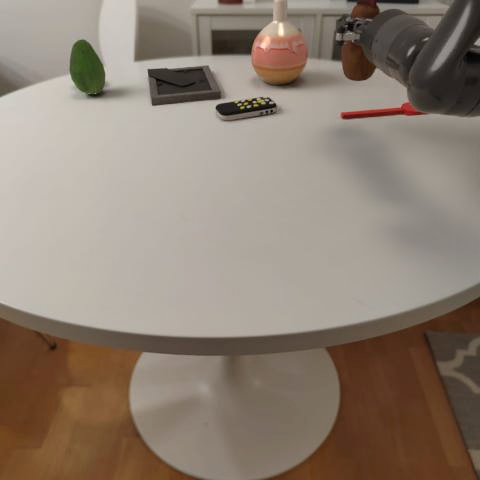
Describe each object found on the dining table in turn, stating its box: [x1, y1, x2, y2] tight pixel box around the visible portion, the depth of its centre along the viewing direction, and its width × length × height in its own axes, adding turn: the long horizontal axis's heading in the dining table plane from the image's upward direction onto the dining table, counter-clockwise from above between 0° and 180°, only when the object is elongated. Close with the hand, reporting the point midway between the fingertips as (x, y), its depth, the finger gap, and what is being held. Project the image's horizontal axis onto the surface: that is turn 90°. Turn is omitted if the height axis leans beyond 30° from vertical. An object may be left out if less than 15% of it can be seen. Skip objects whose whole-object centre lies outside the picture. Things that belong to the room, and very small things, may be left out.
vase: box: [250, 0, 309, 86], centre depth 108 cm, size 14×14×18 cm
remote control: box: [215, 95, 278, 122], centre depth 98 cm, size 6×13×2 cm, turn 109°
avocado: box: [68, 38, 106, 95], centre depth 107 cm, size 8×8×12 cm
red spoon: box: [340, 101, 429, 120], centre depth 96 cm, size 19×6×1 cm, turn 98°
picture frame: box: [146, 65, 222, 106], centre depth 112 cm, size 16×2×21 cm
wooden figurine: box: [341, 0, 381, 82], centre depth 75 cm, size 7×6×15 cm
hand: (358, 19), depth 76 cm, fingers closed on wooden figurine, 4 cm apart
